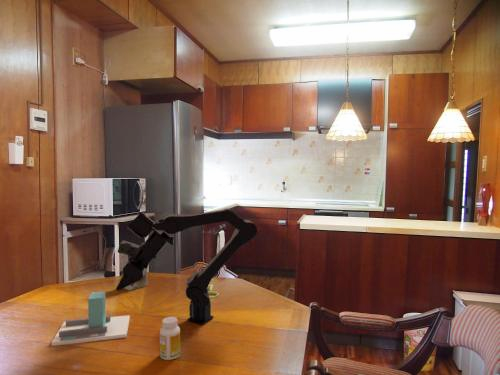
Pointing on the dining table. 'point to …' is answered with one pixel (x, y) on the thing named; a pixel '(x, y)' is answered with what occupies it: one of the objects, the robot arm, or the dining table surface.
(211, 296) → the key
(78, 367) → the dining table surface
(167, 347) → the supplement bottle
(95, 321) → the switch tab
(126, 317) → the white rail base plate
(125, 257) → the coffee box
